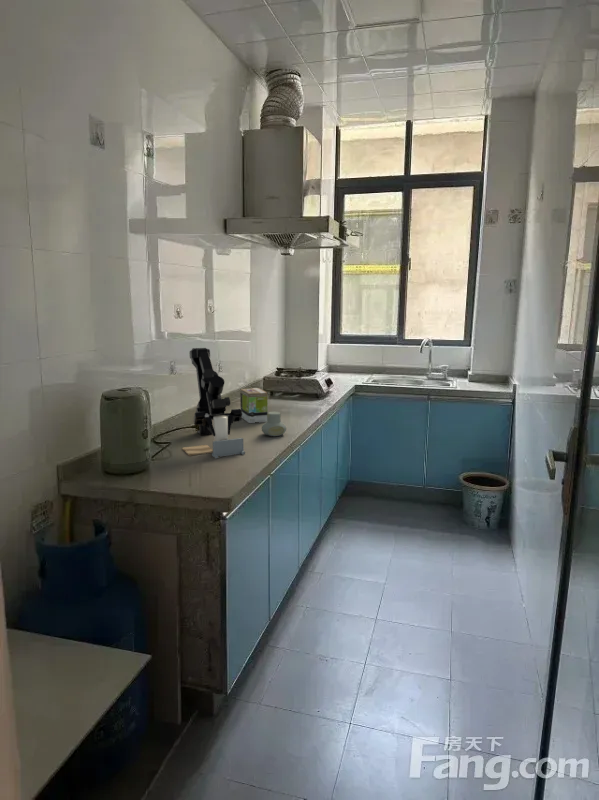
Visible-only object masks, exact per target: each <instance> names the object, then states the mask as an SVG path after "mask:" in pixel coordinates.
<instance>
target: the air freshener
mask: <svg viewBox="0 0 599 800" xmlns="http://www.w3.org/2000/svg"><path fill="white" fill-rule="evenodd" d="M281 414H282V413H281V412H280V411H268V413H267V422H263V424H262V425H261V431H262V433H263V434H264V435H266V436H269V437H272V436H277V437H279V436H282V435H284V434H285V433H286V432H287V425H286V424H285V423H284V422H282V420H281V419H282V418H281V416H282V415H281Z"/></svg>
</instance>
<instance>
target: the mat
mask: <svg viewBox="0 0 599 800" xmlns="http://www.w3.org/2000/svg"><path fill="white" fill-rule="evenodd" d="M182 451H184V452H185V453H186V455H187V456H189V457H191V456H198V455H206V453H207V454H212V453H213V448H211V447H210V446H209V445H208V444H203V445H194V446H185V447H182Z"/></svg>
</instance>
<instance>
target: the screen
mask: <svg viewBox="0 0 599 800" xmlns="http://www.w3.org/2000/svg"><path fill="white" fill-rule="evenodd" d="M212 450H213V453H211V456H212V457H213V458H214V457H215V458H214V459H218V458H219V457H218V456H220V457H225V456H226V457H229V456H233V455H234V454H235V455H246V451H245V449H244V438H243V437H238V438H230V439H229V438H228V440H220V441H214V440H212Z"/></svg>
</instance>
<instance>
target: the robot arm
mask: <svg viewBox="0 0 599 800" xmlns="http://www.w3.org/2000/svg"><path fill="white" fill-rule="evenodd" d="M189 359H191V360H190V361H191V364H192V366H194V368H195V372H196V378H197V385H198V394H199V400H198V402H197V404H196V408H195V413H194V416H193V424H194V425H195V426H197V425H198V426H199V430H197V431H196V432H197V433H198V434H199V435H200V436H205V435H212V436H213V437H214V436H215V432H214V424H213V417H214V416H219V415H224V416H228V436H229V435H230V434H231V427H232V424H234V423H235V422H240V421H241V419H242V410H241V408H233V409H231V411H230V412H226V411H227V407H230V405H231V398H230V396H228V397H224V398H222V393H223V390H224V386H225V379H224V378H223V377H221V376H219V374H218V372H217V371H215V370H214V368H213V364H212V361H211V350H210V349H209V348H206V347H192V348H191V349H190V350H189ZM225 412H226V413H225Z"/></svg>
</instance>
